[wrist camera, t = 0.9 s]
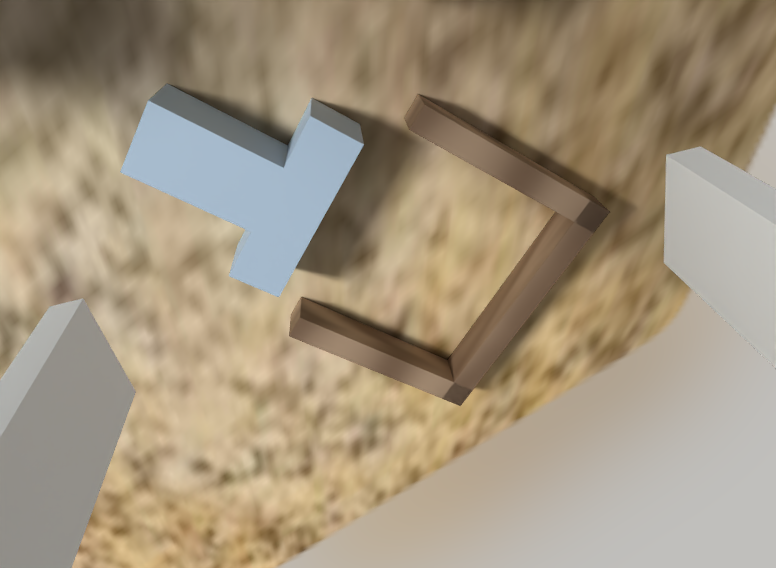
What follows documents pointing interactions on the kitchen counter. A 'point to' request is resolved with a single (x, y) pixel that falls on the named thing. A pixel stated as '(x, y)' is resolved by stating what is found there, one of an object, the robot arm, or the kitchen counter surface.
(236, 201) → the blue t-shaped block
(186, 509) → the kitchen counter surface
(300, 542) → the kitchen counter surface
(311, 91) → the kitchen counter surface
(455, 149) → the bay
